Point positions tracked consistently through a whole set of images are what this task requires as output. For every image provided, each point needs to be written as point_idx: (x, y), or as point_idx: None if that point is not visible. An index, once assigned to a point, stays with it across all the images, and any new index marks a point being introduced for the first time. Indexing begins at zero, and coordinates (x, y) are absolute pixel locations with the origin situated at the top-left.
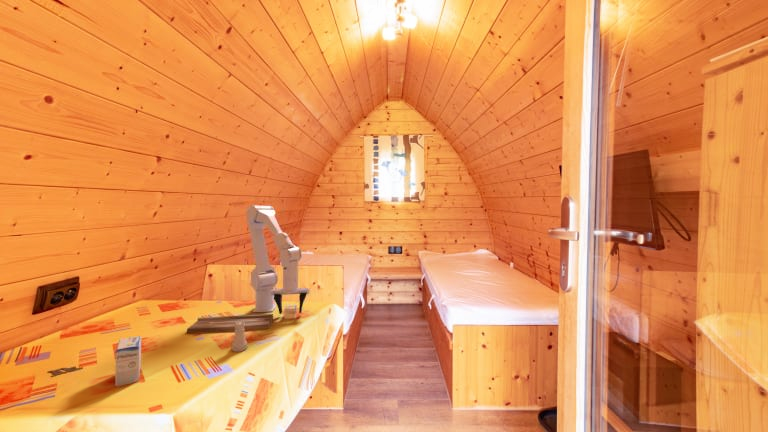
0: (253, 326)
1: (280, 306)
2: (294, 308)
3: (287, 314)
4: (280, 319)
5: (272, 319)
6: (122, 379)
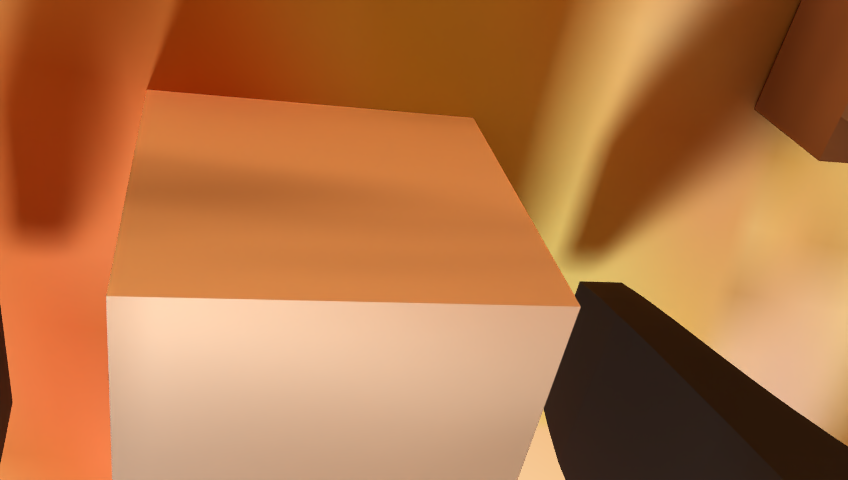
0: None
1: (724, 432)
2: (140, 291)
3: (408, 169)
4: (580, 82)
5: (827, 15)
6: None
